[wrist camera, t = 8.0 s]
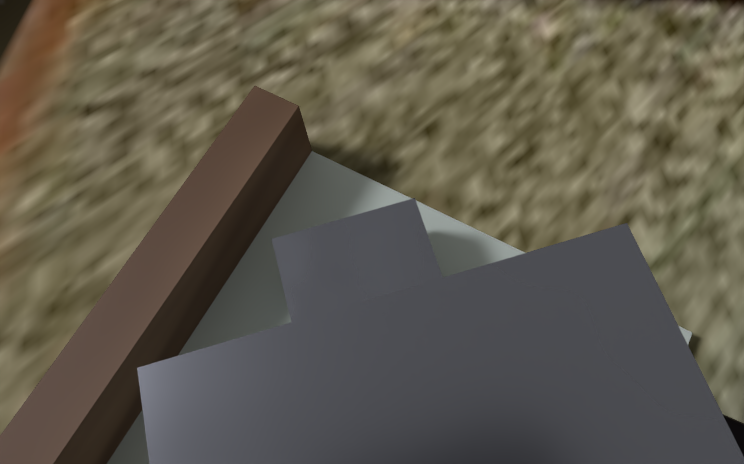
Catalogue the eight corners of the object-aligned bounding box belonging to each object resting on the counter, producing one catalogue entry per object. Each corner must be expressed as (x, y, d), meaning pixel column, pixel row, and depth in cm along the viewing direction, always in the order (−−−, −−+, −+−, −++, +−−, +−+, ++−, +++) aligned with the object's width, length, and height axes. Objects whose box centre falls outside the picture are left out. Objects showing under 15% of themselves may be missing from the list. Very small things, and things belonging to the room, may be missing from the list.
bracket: (526, 544, 13) (951, 873, 3) (365, 596, 13) (236, 1147, 3) (413, 219, 16) (435, -159, 6) (282, 256, 16) (79, -71, 6)
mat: (685, 335, 16) (692, 332, 16) (476, 913, 12) (479, 928, 11) (276, 138, 19) (273, 132, 18) (-5, 547, 15) (-16, 550, 14)
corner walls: (685, 335, 16) (746, 311, 13) (476, 913, 12) (501, 1058, 9) (276, 138, 19) (254, 85, 16) (-5, 547, 15) (-99, 572, 12)
